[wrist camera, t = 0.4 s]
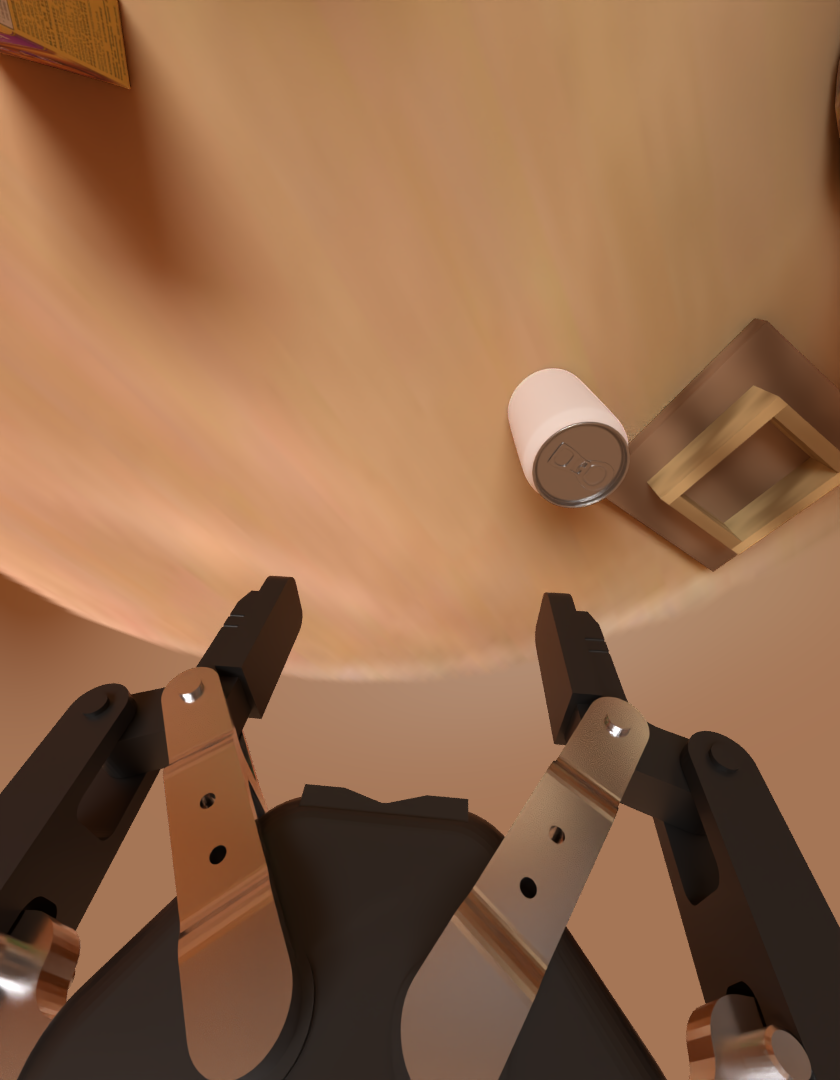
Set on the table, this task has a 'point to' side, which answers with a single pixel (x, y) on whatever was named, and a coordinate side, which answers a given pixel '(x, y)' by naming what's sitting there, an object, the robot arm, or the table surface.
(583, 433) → the can
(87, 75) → the candy box
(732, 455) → the socket stand
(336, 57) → the table surface
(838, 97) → the tankard
